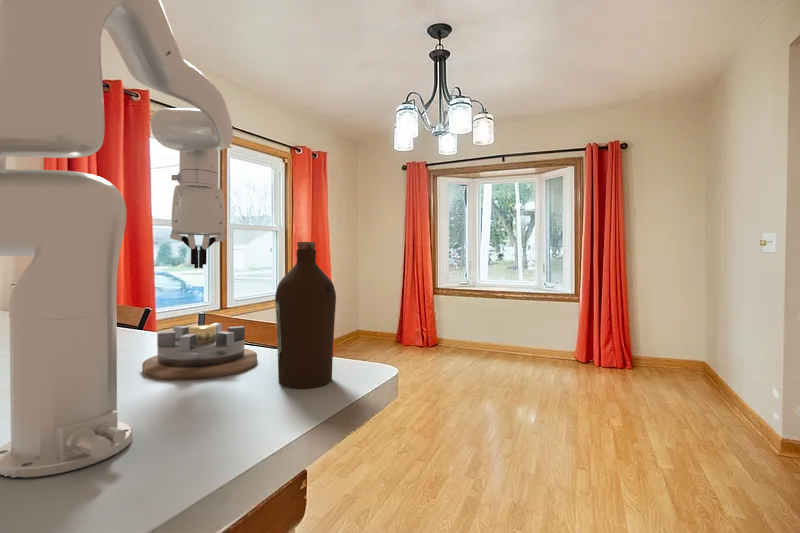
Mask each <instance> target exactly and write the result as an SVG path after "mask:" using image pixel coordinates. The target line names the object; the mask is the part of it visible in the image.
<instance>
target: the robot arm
mask: <svg viewBox="0 0 800 533" xmlns="http://www.w3.org/2000/svg"><path fill="white" fill-rule="evenodd" d="M103 29H104V30H105V31H107V33H108V34H109V36H110V38H111V40H112V42H113V44H114V46H115V48H116V49H117V51H118V53H119V55H120V56H121V58H122V61H123V62H124V65H125V66H126V69H127V71H128V72H129V73H130V75H131V76H132V78H133V79H134V80H136V81H137V82H138V83H140V84H142V85H144V86H145V87H147V88H150V89H152V90H154V91H157V92H159V93H161V94H164V95H166V96H170V97H172V98H175V99H177V100H180V101H182V102H185V103H187V104H189V105H191V106H193V107H194V108H176V107H175V108H173V107H171V108H170V107H165V108H160V109H157V110H156V111H154V113H153V114H152V116H151V117H150V130H151V132H152V133H151V134H152V136H153V137H154V139H155V140H156V141H157V142H158V143H160V145H162V146H163V147H165V148H167V149H171V150H175V151H179V170H178V172H177V173H171V181H173V182H177V183H179V184H177V185H175V187H174V191H173V196H172V202H171V203H172V205H171V229H172V230H171V231H170V235H169V237H170V239H171V240H175V241H180V242H182V243H184V245H186V246H187V247H188V248H189V249H190V265H194V269H204V265H206V266H207V249H208V248H210V247H211V246H212V245H214V243H218V242H225V241H226V239H227V235H226V232H225V230H226V209H225V208H226V207H225V198H224V192H223V189H222V188H220V187H219V154H220V153H219V152H220V151H223V150H226V149H228V148H229V147H230V146H231V144H232V142H233V139H234V130H233V129H234V128H233V124H232V119H231V116H230V112H229V110H228V106H227V103H226V101H225V98H224V96H223V95H222V93H221V91H220V89H219V88H218V87H217V86H216V85H215V84H214V83H213V82H212V81H211V80H210V79H209V78H208V76H206V75H205V74H204V73H202V72H201V71H200V70H198V69H197V68H196V67H195V66H194V65H192V64H191V63H190V62H188V61H186V60H185V59H184V57H183V56H182V53H181V51H180V48H179V46H178V42H177V41H176V38H175V35H174V33H173V31H172V27H171V25H170V22H169V19H168V17H167V15H166V12H165V9H164V6H163V4H162V1H161V0H0V257H3V256H4V257H6V256H7V257H31V258H32V260H31V261H30V263H29V264H28V265H27V267H26V268H25V270H23V271H22V273H21V275H20V276H19V278H18V279H17V281H16V282H15V284H14V286H13V288H12V291H11V294H10V296H9V298H10V299H9V304H8V305H9V306H8V313H9V314H8V316H9V378H10V379H9V380H10V382H9V383H10V384H9V385H10V388H9V390H10V391H9V392H10V396H9V397H10V441H9V442H6V443H5V444H3V445H1V446H0V474H1V475H7V476H13V477H12V478H15V477H23V478H25V479H26V478H37V477H46V476H51V475H57V474H62V473H67V472H70V471H74V470H80V469H83V468H86V467H88V466H91V465H94V464H97V463H100V462H102V461H104V460H106V459H108V458H111V457H113V456H114V455H115V456H116V454H118V453H120V452H121V451H123V450H124V449H125V448H126V447H128V445H130V443H131V442H132V440H133V428H132V426H130V425H129V424H127V423H125V422H122V421H119V420H118V373H117V372H118V351H117V350H118V347H117V345H118V344H117V342H118V341H117V340H118V339H117V336H118V334H117V333H118V332H117V330H118V328H117V325H118V324H117V323H118V322H117V320H118V319H117V318H118V317H117V316H118V315H117V313H118V312H117V311H118V310H117V299H118V298H117V297H118V296H117V293H118V292H117V290H118V289H117V288H118V286H117V285H118V269H119V261H120V254H121V249H122V243H123V238H124V235H125V229H126V223H127V206H126V202H125V200H124V197H123V195H122V193H121V191H120V190H119V189H118V188H117V187H116V186H115V185H114V184H113V183H111V181H108V180H106V179H105V178H103V177H101V176H98V175H95V174H92V173H86V172H81V171H74V170H73V171H71V170H58V169H57V170H56V169H54V170H53V169H27V168H26V169H25V168H24V169H15V168H14V169H12V168H11V169H10V168H7V157H12V158H13V157H15V158H17V157H20V158H47V159H49V158H51V159H54V158H56V159H65V158H66V159H68V158H69V159H73V158H74V159H75V158H84V157H89V156H92V155H94V154H96V153H97V152H98V151H99V150H100V149H101V148H102V145H103V144H104V141H105V140H104V139H105V129H106V123H105V104H104V102H105V101H104V100H105V99H104V86H103V85H104V84H103V70H102V68H103V66H102V44H101V42H102V41H101V39H102V33H103ZM186 235H187V236H186ZM195 236H203V237H202V243H201V245H200V246H199V249H198V246H197V245H196V240H195ZM211 236H212V237H211ZM1 475H0V476H1ZM14 476H15V477H14ZM23 478H22V479H23Z"/></svg>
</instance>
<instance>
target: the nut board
mask: <svg viewBox="0 0 800 533" xmlns="http://www.w3.org/2000/svg"><path fill="white" fill-rule="evenodd" d="M257 363H258V354H257V352H256V351H254V350H251V349H247V348H244V356H243V357H241V358H239V359H237V360H234V361H230V362H226V363H221V364H215V365H206V366H193V367H177V366H167V365H163V364H160V363H158V361H157V355H153V356H151V357H149V358H147V359H145V360H144V361H143V362H142V363H141V364H142V366H141V367H142V368H141V369H142V370H141V371H142V374H143V375H144V376H145V377H147V378H151V379H154V380H155V379H156V380H162V381H163V380H164V381H192V380H193V381H195V380H207V379H214V378H221V377H226V376H231V375H235V374H238V373H242V372H245V371H247V370H250V369H252V368H253V367H255V366H256V365H257Z"/></svg>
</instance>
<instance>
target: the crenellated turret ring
mask: <svg viewBox="0 0 800 533" xmlns="http://www.w3.org/2000/svg"><path fill="white" fill-rule="evenodd" d="M222 326H223V324H222V323H220V322H214V323H211V324H209V325H208V324H205V325H204V324H202V325H194V326H187V325H186V326H185V325H177V326H172V331H171V330H170V331H158V332H156V342H157V343H156V346H157V347H156V348H157V355H156V356H157V361H158V363H160V364H163V365H167V366H177V367H193V366H206V365H215V364H221V363H226V362H230V361H234V360H237V359H239V358H241V357H243V356H244V349H245V340H246V339H245V331H246V330H245V329H246V328H245V326H244V325H238V326H237V325H236V326H227V331H225V330H223V329H222V328H223V327H222Z"/></svg>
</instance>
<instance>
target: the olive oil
mask: <svg viewBox="0 0 800 533" xmlns="http://www.w3.org/2000/svg"><path fill="white" fill-rule="evenodd" d="M296 245H297V249H296V263H295V265H294V266H293V267H292V268H291V269H290V270H289V271H288V272H287V273H286V274H285V275H284V276H283V277H282V279H281V280H280V281H279V283H278V285H277V287H276V290H275V291H276V292H275V296H274V297H275V298H274V301H275V303H274V305H275V320H276V321H275V322H276V344H277V345H276V346H277V366H278V367H277V371H278V374H277V376H278V384H280V385H281V386H282V387H285V388H290V389H312V388H318V387H323V386H326V385H328V384H329V383H331V382H332V380H333V379H332V378H333V358H334V357H333V356H334V352H333V351H334V341H335V340H334V339H335V338H334V337H335V322H336V321H335V318H336V304H337V293H336V289H335V285H334V283H333V282H332V280H331V279H330V278H329V276H328V275H327V274H326V273H325V272H324V271H323V270H322V269H321V267H320V266H319V265H318V264H317V262H316V260H317V259H316V258H317V250H316V242H314V241H297V243H296Z"/></svg>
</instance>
